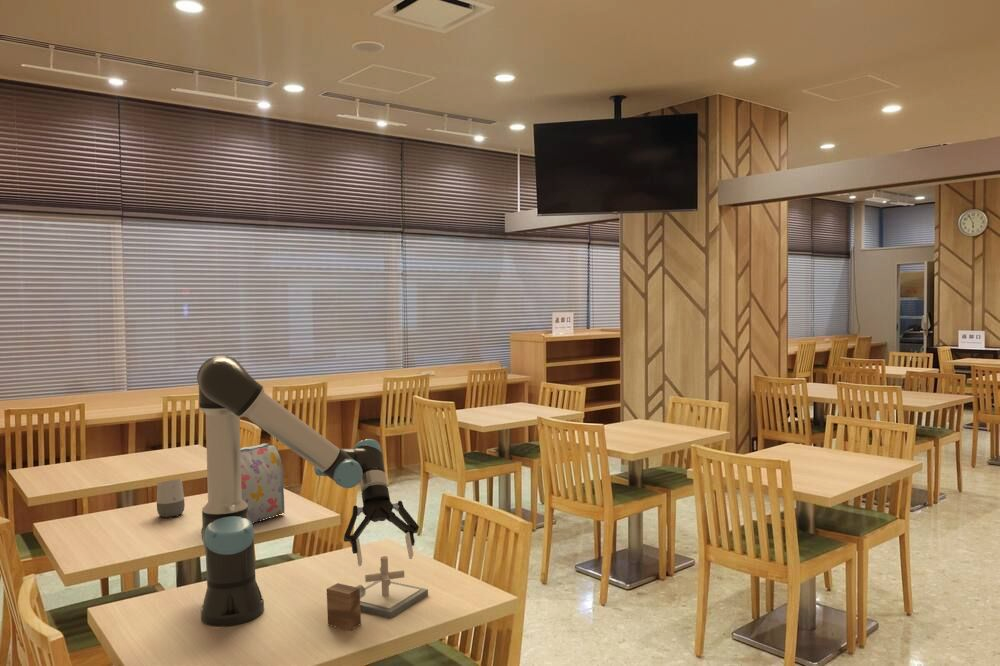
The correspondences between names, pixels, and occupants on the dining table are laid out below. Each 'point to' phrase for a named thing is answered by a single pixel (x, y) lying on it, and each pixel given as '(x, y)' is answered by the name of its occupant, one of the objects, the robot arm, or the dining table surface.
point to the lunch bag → (262, 482)
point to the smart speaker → (170, 498)
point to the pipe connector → (384, 576)
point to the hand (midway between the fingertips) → (386, 560)
